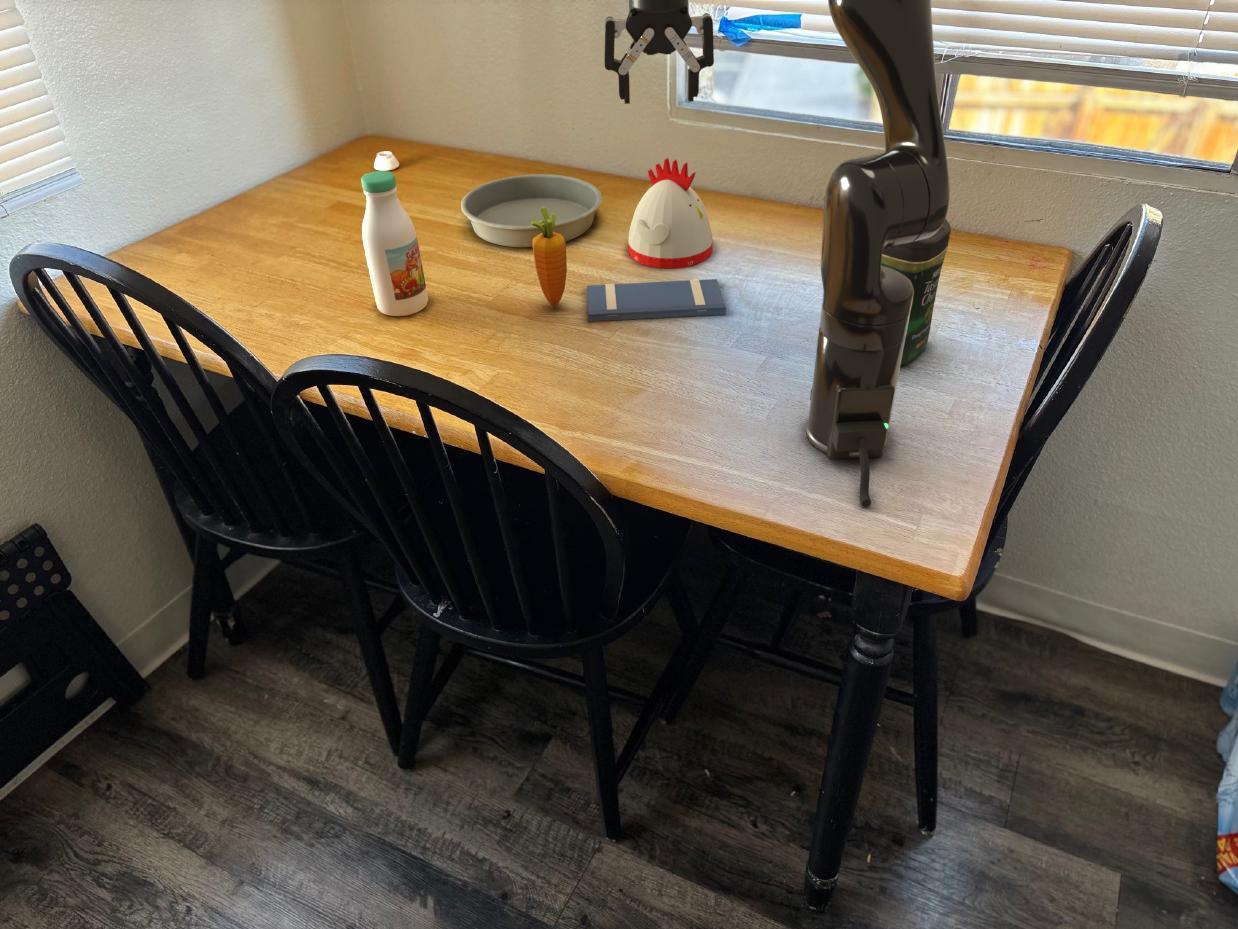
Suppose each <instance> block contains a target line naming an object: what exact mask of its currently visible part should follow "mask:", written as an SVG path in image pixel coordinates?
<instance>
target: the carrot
mask: <svg viewBox="0 0 1238 929" xmlns="http://www.w3.org/2000/svg"><path fill="white" fill-rule="evenodd" d="M540 210H541V212H542V215H543V218H544V220H545V222H544V221H542V220H541V221H540V223H539V222H536V221H532V222H531V225H533V226H536V227H537V228H539V229H540V230H541V232H542V233H541V234H539V235H537V236H536V237H534V238H533V241H532V245H533V247H532V252H533V260H534V266H535V271H536V274H537V277H538V281H539V285H540V288H541V291H542V293H543V295H544V297H545V299H546V301H547V302H548V304H549V305H550V306H551V307H553V308H557V307H558V306H559V304H560V302H561V300H562V298H563V295H564V292H565V287H566V283H567V282H566V281H567V272H568V262H567V260H568V259H567V243H566V242H565V240H564V238H563V236H562V235H561V234H559V233H555V232H553V230H554V226H555V220H556V215H555V214H554V213H552V214H551V220H550V217H549V213H548V211H547V209H546V207H542V208H541V209H540ZM545 223H546V224H545Z"/></svg>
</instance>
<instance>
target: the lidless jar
mask: <svg viewBox="0 0 1238 929" xmlns="http://www.w3.org/2000/svg"><path fill="white" fill-rule="evenodd" d="M399 167H400V162H399V160H398V159H397V157H395V155H394V154H393V152H392V151H390V150H389V151H388V150H385V151H380V152H377V153H376V157H375V159H374V164H373V169H375V170H376V171H388V172H391V171H393V170H396V169H397V168H399Z"/></svg>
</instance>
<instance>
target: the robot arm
mask: <svg viewBox="0 0 1238 929" xmlns="http://www.w3.org/2000/svg"><path fill="white" fill-rule="evenodd" d="M827 4H828V10H829V13H830V17H831V19H832V22H833V24H834V27H835V28H836V30H837V32H838V34H839V36H840V37H841V39H842V41H843V43H844V45H845V46H846V47H847V49H848V51H849V52H850V54H851V55H852V57H853V58H854V60H855V61H856V63H857V64H858V66H859V68H860V69H861V71H862V72H863V73H864V76H865V77H866V78H867V80H868V81H869V82H868V83H870V85H871V87H872V90H873V91H874V93H875V96H876V99H877V102H878V105H879V109H880V110H879V111H880V114H881V120H882V128H883V136H884V145H885V146H884V151H882V152H877V153H873V154H872V153H871V154H867V155H861V156H857V157H856V156H855V157H853V158H849V159H846V160H843V161H842V162H841V163H839V164H837V165H836V167H835V168H834V170H833V171H832V173H831V175H830V177H829V180H828V182H827V186H826V190H825V196H824V202H823V203H824V204H823V217H822V235H821V237H822V238H821V254H820V277H821V283H822V290H823V292H822V303H821V311H820V318H819V327H818V334H817V335H818V336H817V342H816V343H817V344H816V350H815V351H816V352H815V360H814V369H813V377H812V385H811V389H810V397H809V400H810V402H809V403H810V404H809V410H808V411H809V413H808V420H807V422H806V424H807V425H806V430H805V431H806V437H807V439H808V441H809V442H810V443H811V445H813V446H814V447H815V448H816V449H818V450H819V451H821V452H823V453H825V454H827V456H828V459H829V460H844V459H845V460H846V459H859V463H860V480H859V497H860V501H861V502H860V503H861V504H862V506H864V507H869V506H871V504H872V500H871V497H870V480H871V478H870V477H871V476H870V475H871V471H870V470H871V469H870V458H881V457H883V456H884V452H885V447H886V446H887V444H888V441H889V435H890V431H889V430H890V425H891V419H892V413H893V408H894V402H895V396H896V391H897V386H898V380H899V375H900V369H901V365H902V364H901V360H902V354H903V349H904V343H905V338H906V333H907V328H908V323H909V317H910V312H911V307H912V301H913V295H914V288H913V285H912V282H911V281H910V279H909V278H908V277H907V276H906V275H904V274H902V273H901V272H899V271H897V270H895V269H893V268H891V267H888V266H884V265H881V261H882V252H883V250H884V249H888V248H892V247H896V246H901V245H905V244H908V243H913V242H917V241H921V240H924V239H927V238H929V237H931V236H933V235H934V234H936V233H937V231H938V230H939V229H940V228H941V226H942V225H943V223H944V221H945V218H946V219H947V215H948V211H949V204H950V191H951V190H950V188H951V187H950V173H949V164H948V156H947V151H946V149H947V148H946V142H945V135H944V129H943V122H942V114H941V108H940V100H939V94H938V92H939V91H938V86H937V85H938V84H937V74H936V73H937V72H936V60H935V45H934V30H933V15H932V14H933V13H932V0H827ZM692 27H694V28H695V29H696V33H697V34H698V35H700V36H701V37H702V38H701V41H702V55H700V56H697V57H696V55H695V54H694V52H693V51H692V49H691V48H690V47H689V45H688V44H687V42H686V41H685V38H686V36H687V35H688V34H689V32H690V30H691V29H692ZM623 30H626V32H627V33H628V34H629V36H630V37H631V39H632V41H631V43H630V44H629V45H628V47H627V49H626V51H625V53H624V54H623V55H622V57H621V59H617V58H615V40H616V39H618V38H620V37H621V34H622V32H623ZM714 46H715V45H714V20H713V18H712V15H711V14H710V13H708V12H705V13H703V15H696V16H691V15H690V13H689V0H628V15H627V17H626V18H625V19H623V18H622V19H621V18H614V17H613V16H607V17H606V18H605V20H604V59H603V60H604V68H605V70H606V71H611V72H615V73H616V74H617V76H618V96H619V98H620V100H624V104H625V105H629V104H630V103H631V98H630V97H631V94H630V92H631V91H630V69H631V68H632V66H633V65H634V64H635V62H636V61H638V59H639V58H640V56H641V54H642V53H643V54H645V55H647V56H655V55H657V54H661V55H672V53H674V52H677V53H678V54H679V56H680V57H681V58H682V60H683V61H684V62H685V64H686V65H687V66H688V68H687V74H686V75H687V78H686V80H687V82H686V89H687V90H686V98H687V102H688V103H690V102H691V103H692V102H694V98H697V97H698V95H699V93H700V72H701V71H702V70H703V69H705V68H707V67H708V68H710V67H713V65H714V64H715V52H714V50H715V48H714Z"/></svg>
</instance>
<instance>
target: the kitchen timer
mask: <svg viewBox="0 0 1238 929" xmlns="http://www.w3.org/2000/svg"><path fill="white" fill-rule="evenodd" d="M688 165H689V164H688V162H685V163H683V164H682V167H681V170H680V171H679V164H678V159H674V160H673V161H672V164H670V159H669V157H666V158H665V159H664V160H663V167H662V165H661V163H659V162H657V163H656V164H655V171H656V172H655V173H656V175H655V173H654V171H653V169H652V168H650V169H648V170H647V174H648V178H649V180H650V183H651V184H652V185H651V186H650V187H649V188H648V189H647V190H646V192H644V194H643V196H642V197H641V199H640V200H639V202H638V204H637V206H636V208H635V211H634V212H633V217H632V220H631V223H630V226H629V230H628V255H629V256H630V258H631V259H632V260H634V261H636V262H637V263H639V264H642V265H645V266H648V267H651V268H659V269H680V268H687V267H691V266H695V265H698V264H700V263H702V262H705V261H706V260H707V259H708V258H710V257H711V256H712V253H713V246H714V244H713V243H714V239H713V232H712V227H711V223H710V221H709V217H708V216H709V215H708V212H707V210H706V207H705V204H704V202H703V200H702V199H701V198H700V196H699V194H698V193H697V192H696V191H695V190H694V189H693V188H692V187H691V185H692V183H693V181H694V178H695V177H696V173H697V172H696V171H694V172H693V173H691V175H689V168H688Z"/></svg>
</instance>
